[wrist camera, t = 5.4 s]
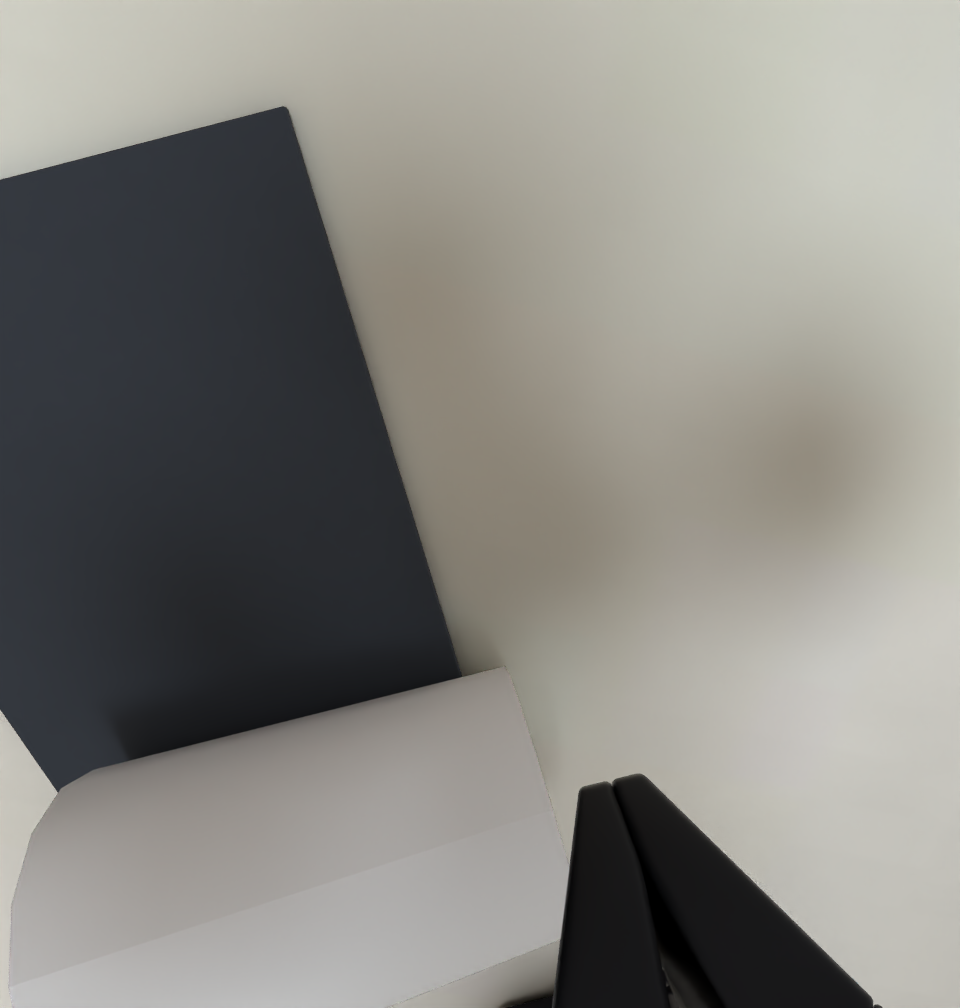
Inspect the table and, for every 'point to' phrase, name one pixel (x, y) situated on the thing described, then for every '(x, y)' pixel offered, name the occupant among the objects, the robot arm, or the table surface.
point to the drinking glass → (298, 862)
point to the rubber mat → (192, 459)
